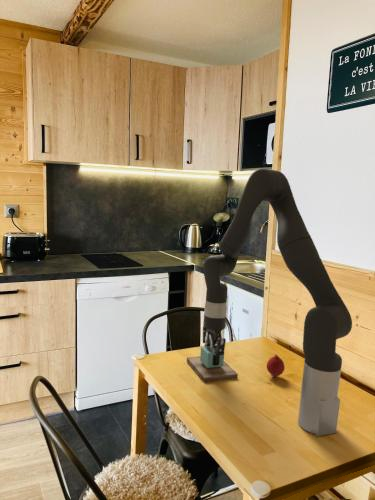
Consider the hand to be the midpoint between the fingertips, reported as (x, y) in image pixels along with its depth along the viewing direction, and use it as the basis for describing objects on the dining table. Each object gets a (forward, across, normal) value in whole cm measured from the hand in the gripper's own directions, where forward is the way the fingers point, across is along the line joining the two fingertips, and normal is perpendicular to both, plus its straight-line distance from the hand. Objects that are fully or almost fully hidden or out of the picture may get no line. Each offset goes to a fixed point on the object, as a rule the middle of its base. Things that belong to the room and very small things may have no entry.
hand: (211, 361), depth 138 cm
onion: (+3, -10, -19) cm, 22 cm away
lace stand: (+3, 0, 0) cm, 3 cm away
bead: (+1, 0, 0) cm, 1 cm away
